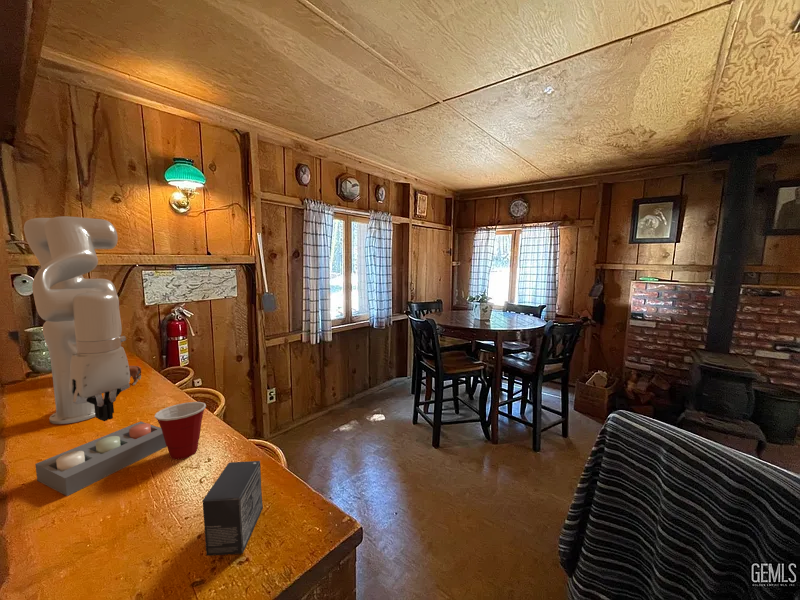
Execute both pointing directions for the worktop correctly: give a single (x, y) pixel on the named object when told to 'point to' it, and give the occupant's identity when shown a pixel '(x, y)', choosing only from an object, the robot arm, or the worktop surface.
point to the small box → (232, 508)
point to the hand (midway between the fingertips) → (105, 418)
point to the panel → (99, 460)
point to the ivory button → (70, 460)
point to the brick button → (139, 430)
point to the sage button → (107, 444)
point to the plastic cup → (181, 428)
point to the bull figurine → (135, 373)
